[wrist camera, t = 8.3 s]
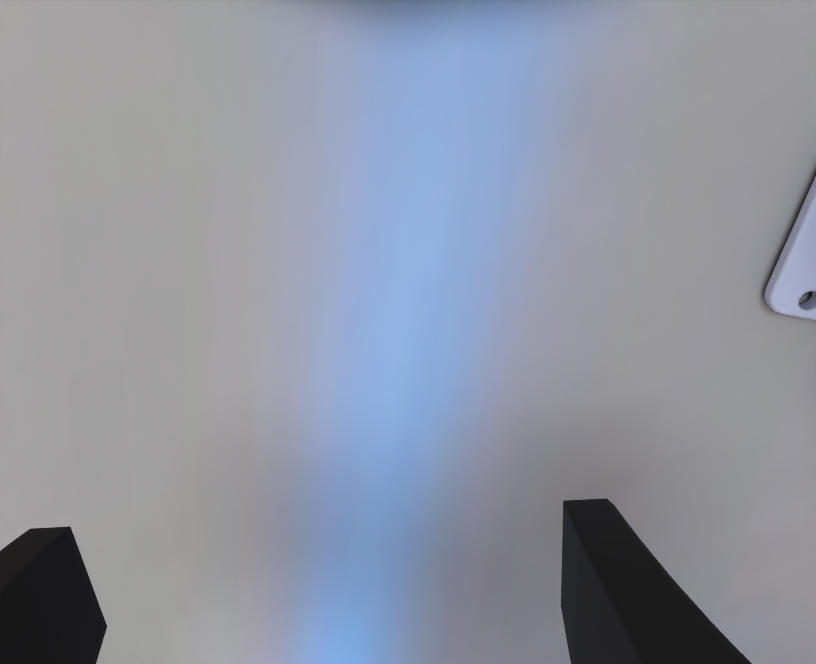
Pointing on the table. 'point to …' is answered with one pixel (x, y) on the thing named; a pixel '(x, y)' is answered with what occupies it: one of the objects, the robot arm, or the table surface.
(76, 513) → the table surface
